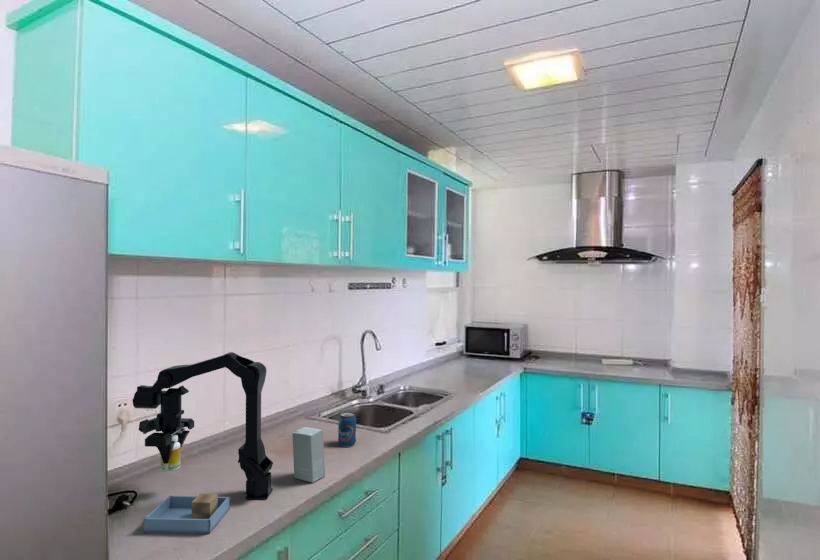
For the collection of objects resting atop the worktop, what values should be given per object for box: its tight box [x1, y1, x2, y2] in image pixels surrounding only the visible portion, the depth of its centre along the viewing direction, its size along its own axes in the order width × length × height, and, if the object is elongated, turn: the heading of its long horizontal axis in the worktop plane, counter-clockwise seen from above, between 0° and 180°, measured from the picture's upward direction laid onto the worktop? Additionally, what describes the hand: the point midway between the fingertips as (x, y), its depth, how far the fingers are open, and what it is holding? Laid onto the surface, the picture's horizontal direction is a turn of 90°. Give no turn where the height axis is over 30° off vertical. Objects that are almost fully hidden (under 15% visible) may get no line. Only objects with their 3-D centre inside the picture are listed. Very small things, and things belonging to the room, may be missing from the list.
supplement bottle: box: [160, 435, 181, 473], centre depth 149 cm, size 5×5×10 cm
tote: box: [143, 495, 231, 535], centre depth 133 cm, size 17×13×4 cm
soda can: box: [337, 411, 357, 448], centre depth 193 cm, size 7×7×12 cm
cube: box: [192, 493, 219, 519], centre depth 134 cm, size 5×5×5 cm
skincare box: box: [291, 426, 326, 484], centre depth 161 cm, size 8×7×16 cm
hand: (170, 459), depth 149 cm, fingers closed on supplement bottle, 5 cm apart
